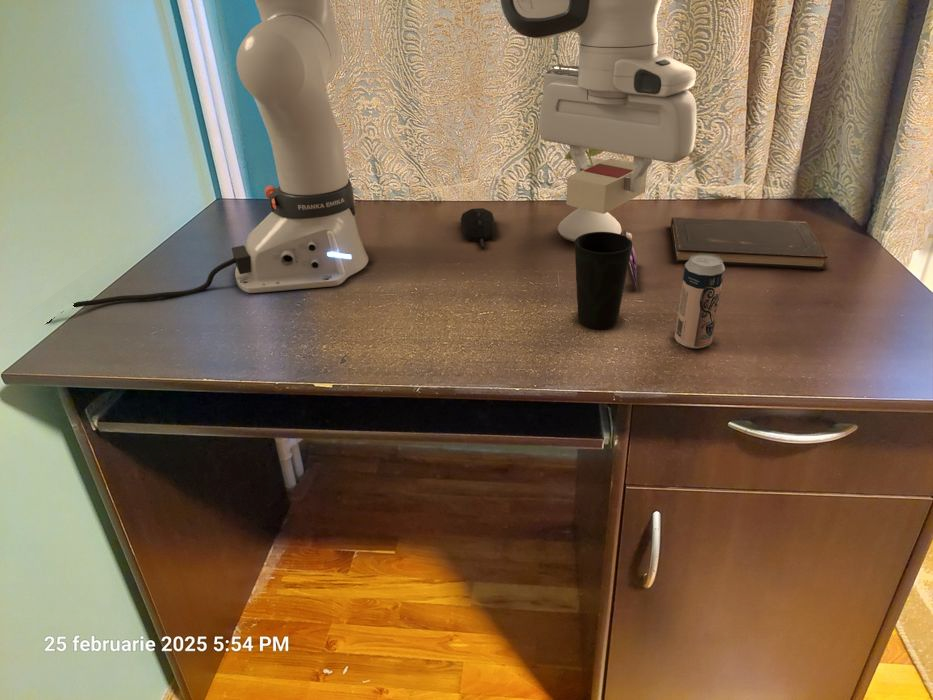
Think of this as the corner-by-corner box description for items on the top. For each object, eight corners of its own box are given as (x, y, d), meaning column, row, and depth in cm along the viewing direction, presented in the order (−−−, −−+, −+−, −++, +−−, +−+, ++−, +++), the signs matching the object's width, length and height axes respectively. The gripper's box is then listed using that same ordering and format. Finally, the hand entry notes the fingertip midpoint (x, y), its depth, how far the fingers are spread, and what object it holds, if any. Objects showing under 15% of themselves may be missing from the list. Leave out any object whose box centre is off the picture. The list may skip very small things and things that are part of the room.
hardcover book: (824, 269, 107) (827, 256, 105) (675, 262, 111) (677, 249, 110) (802, 232, 120) (805, 220, 119) (670, 227, 124) (672, 215, 123)
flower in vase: (600, 222, 128) (610, 84, 114) (633, 243, 118) (647, 96, 105) (538, 233, 124) (541, 93, 111) (567, 256, 115) (574, 105, 102)
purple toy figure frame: (630, 250, 99) (630, 228, 107) (596, 259, 101) (598, 237, 109) (641, 289, 102) (640, 265, 110) (608, 297, 104) (609, 273, 112)
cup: (591, 338, 91) (597, 258, 85) (560, 315, 97) (563, 238, 91) (636, 324, 94) (644, 245, 88) (602, 303, 100) (608, 227, 94)
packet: (603, 214, 81) (606, 184, 79) (565, 204, 85) (567, 176, 83) (645, 192, 87) (648, 164, 85) (608, 184, 91) (610, 157, 89)
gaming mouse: (465, 250, 119) (464, 228, 117) (460, 220, 131) (459, 201, 129) (500, 247, 119) (500, 226, 117) (491, 218, 132) (491, 199, 130)
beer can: (705, 354, 87) (720, 270, 80) (669, 345, 89) (681, 263, 83) (715, 337, 90) (730, 256, 84) (680, 329, 92) (692, 249, 86)
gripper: (529, 66, 82) (528, 177, 89) (684, 81, 70) (668, 208, 77) (559, 59, 86) (555, 165, 93) (710, 72, 74) (693, 193, 81)
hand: (607, 185), depth 85 cm, fingers closed on packet, 5 cm apart
